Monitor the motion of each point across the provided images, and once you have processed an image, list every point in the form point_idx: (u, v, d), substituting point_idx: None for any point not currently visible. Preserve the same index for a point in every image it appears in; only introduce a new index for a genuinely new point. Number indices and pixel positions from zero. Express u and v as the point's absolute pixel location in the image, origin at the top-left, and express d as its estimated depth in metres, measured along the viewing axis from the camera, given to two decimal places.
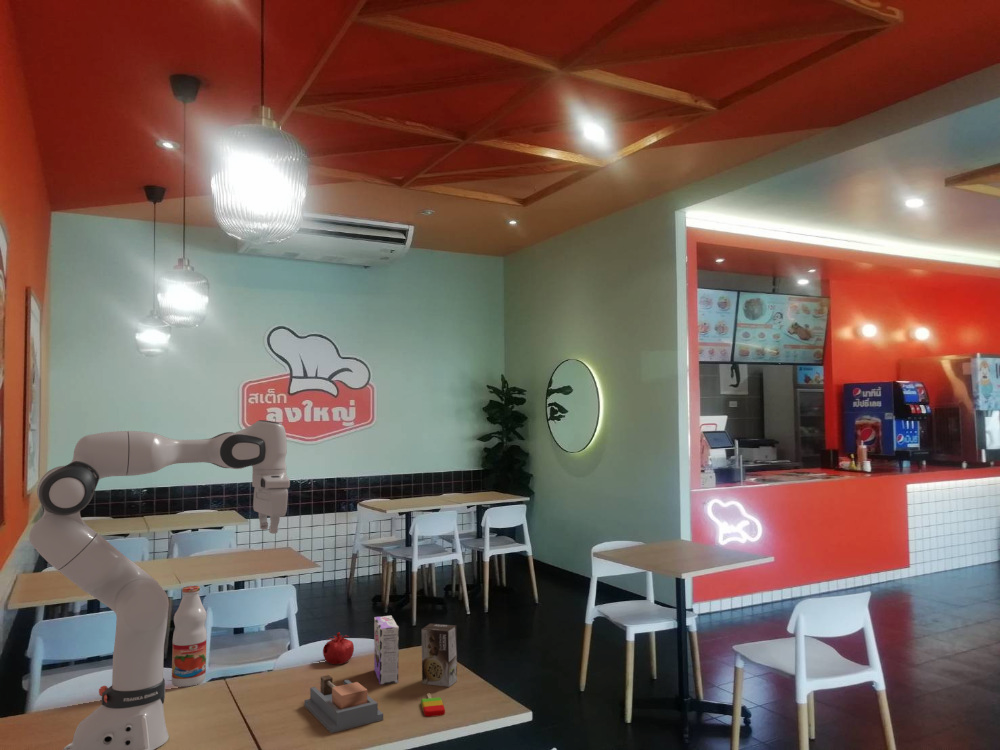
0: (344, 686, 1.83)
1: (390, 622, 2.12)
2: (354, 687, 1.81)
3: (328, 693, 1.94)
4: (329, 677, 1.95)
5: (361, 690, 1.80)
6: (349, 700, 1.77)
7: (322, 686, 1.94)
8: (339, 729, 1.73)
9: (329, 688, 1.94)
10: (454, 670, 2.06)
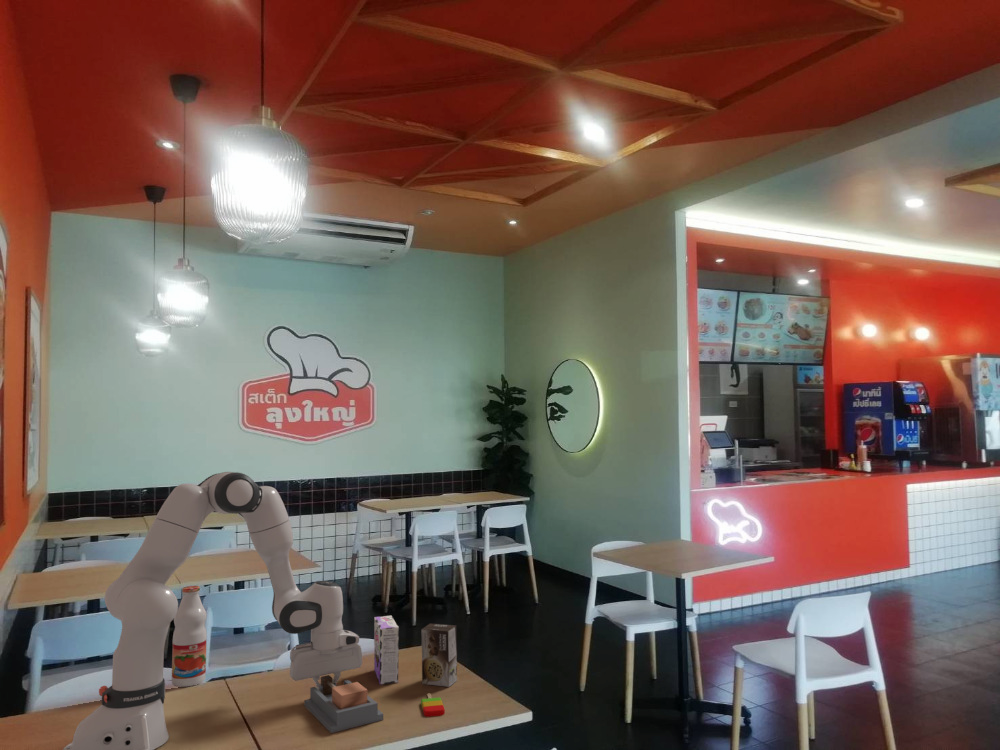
0: (344, 686, 1.83)
1: (390, 622, 2.12)
2: (354, 687, 1.81)
3: (328, 693, 1.94)
4: (329, 677, 1.95)
5: (361, 690, 1.80)
6: (349, 700, 1.77)
7: None
8: (339, 729, 1.73)
9: (329, 688, 1.94)
10: (454, 670, 2.06)
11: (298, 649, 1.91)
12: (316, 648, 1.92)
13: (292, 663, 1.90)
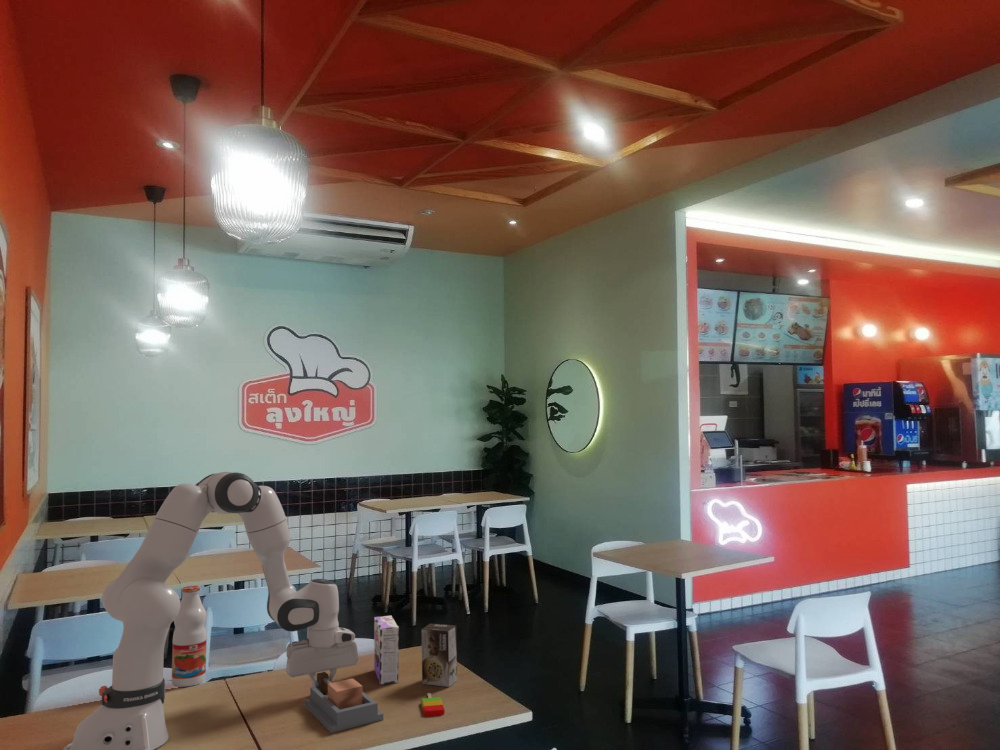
0: (339, 682, 1.85)
1: (390, 622, 2.12)
2: (350, 684, 1.84)
3: (324, 689, 1.97)
4: (325, 674, 1.98)
5: (356, 686, 1.82)
6: (345, 696, 1.80)
7: None
8: (339, 729, 1.73)
9: (325, 684, 1.97)
10: (454, 670, 2.06)
11: (294, 646, 1.94)
12: (312, 645, 1.95)
13: (288, 660, 1.93)
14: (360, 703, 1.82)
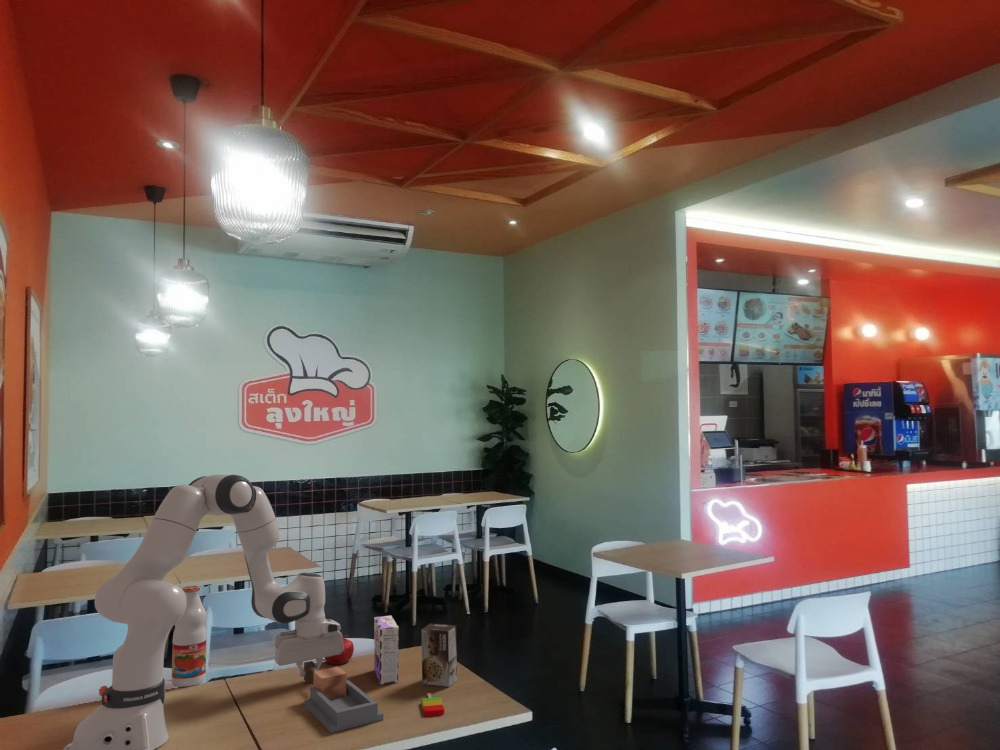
0: (325, 670, 1.95)
1: (390, 622, 2.12)
2: (334, 671, 1.94)
3: (311, 678, 2.06)
4: (312, 663, 2.08)
5: (340, 674, 1.92)
6: (329, 682, 1.89)
7: None
8: (339, 729, 1.73)
9: (312, 673, 2.06)
10: (454, 670, 2.06)
11: (282, 636, 2.04)
12: (299, 635, 2.05)
13: (277, 649, 2.03)
14: (344, 690, 1.92)
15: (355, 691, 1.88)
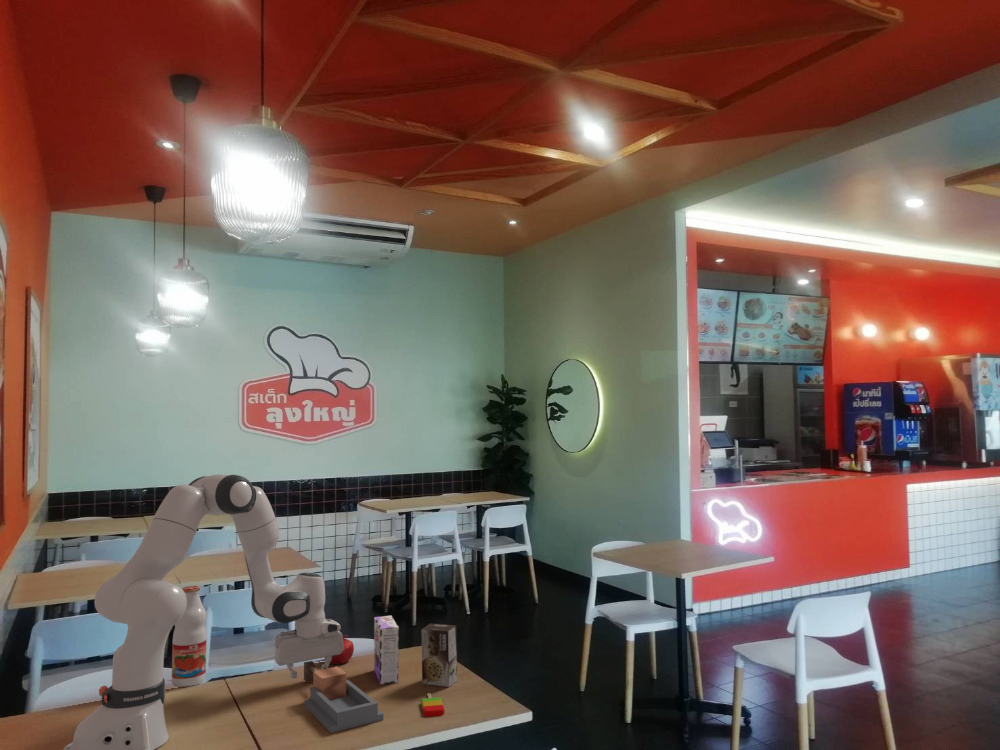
0: (325, 670, 1.95)
1: (390, 622, 2.12)
2: (334, 671, 1.94)
3: (311, 678, 2.06)
4: (312, 663, 2.08)
5: (340, 674, 1.92)
6: (329, 682, 1.90)
7: (305, 671, 2.07)
8: (339, 729, 1.73)
9: (312, 673, 2.06)
10: (454, 670, 2.06)
11: (282, 636, 2.04)
12: (299, 635, 2.05)
13: (277, 649, 2.03)
14: (344, 690, 1.92)
15: (355, 691, 1.88)
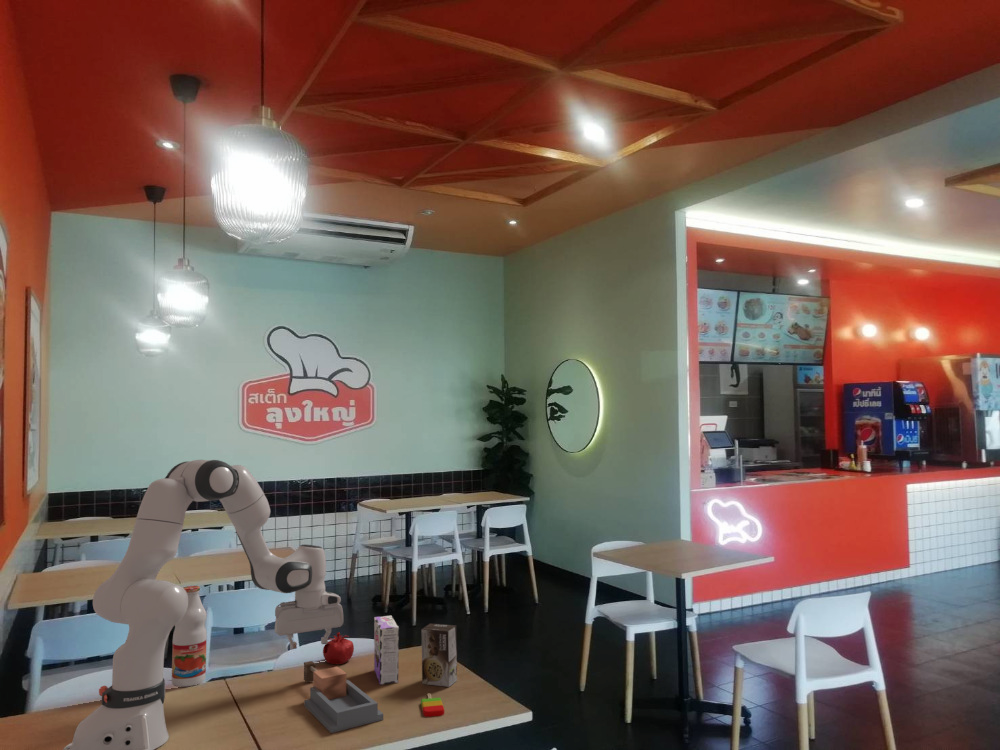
0: (325, 670, 1.95)
1: (390, 622, 2.12)
2: (334, 671, 1.94)
3: (311, 678, 2.06)
4: (312, 663, 2.08)
5: (340, 674, 1.92)
6: (329, 682, 1.90)
7: (305, 671, 2.07)
8: (339, 729, 1.73)
9: (312, 673, 2.06)
10: (454, 670, 2.06)
11: (283, 606, 2.04)
12: (299, 606, 2.05)
13: (277, 619, 2.03)
14: (344, 690, 1.92)
15: (355, 691, 1.88)
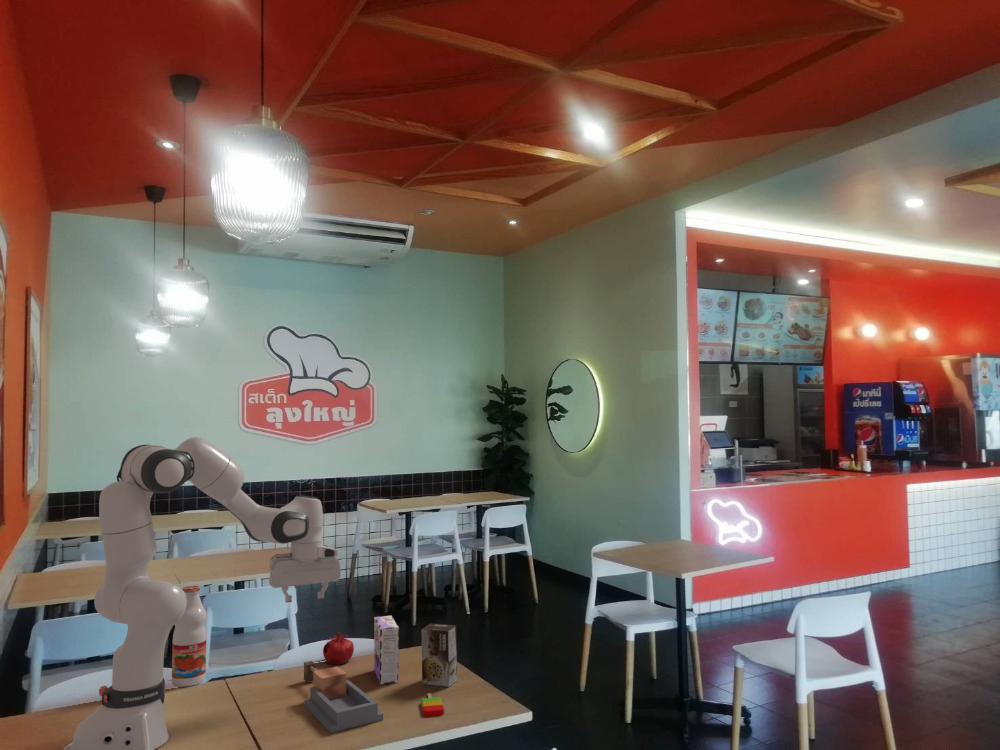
0: (325, 670, 1.95)
1: (390, 622, 2.12)
2: (334, 671, 1.94)
3: (311, 678, 2.06)
4: (312, 663, 2.08)
5: (340, 674, 1.92)
6: (329, 682, 1.90)
7: (305, 671, 2.07)
8: (339, 729, 1.73)
9: (312, 673, 2.06)
10: (454, 670, 2.06)
11: (278, 558, 1.97)
12: (295, 558, 1.98)
13: (271, 571, 1.96)
14: (344, 690, 1.92)
15: (355, 691, 1.88)
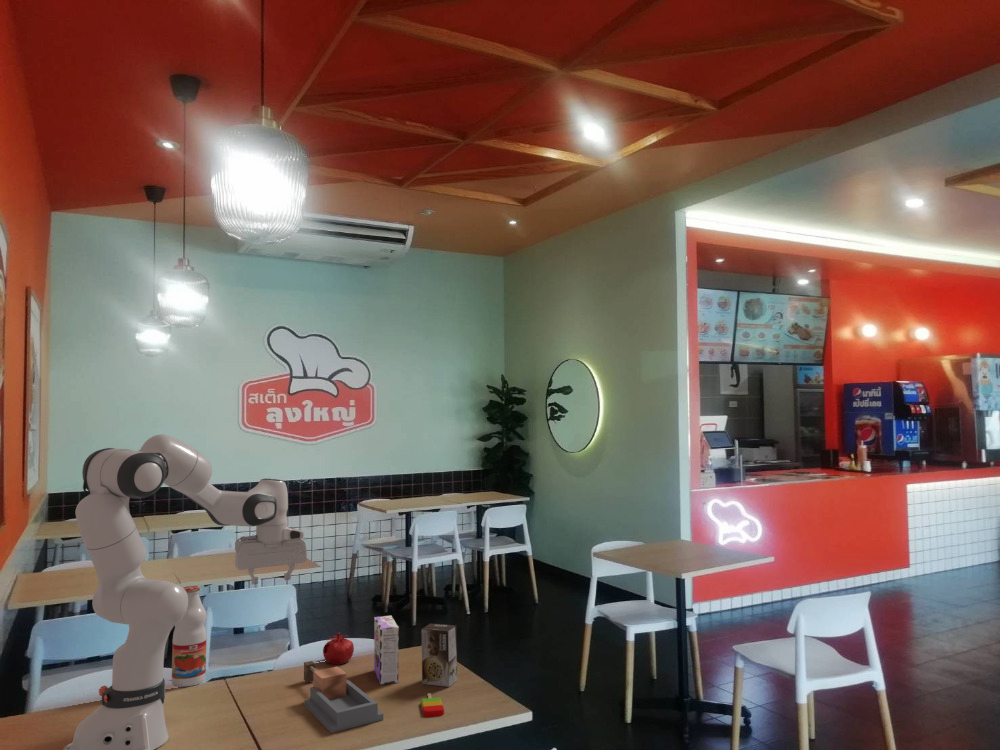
0: (325, 670, 1.95)
1: (390, 622, 2.12)
2: (334, 671, 1.94)
3: (311, 678, 2.06)
4: (312, 663, 2.08)
5: (340, 674, 1.92)
6: (329, 682, 1.90)
7: (305, 671, 2.07)
8: (339, 729, 1.73)
9: (312, 673, 2.06)
10: (454, 670, 2.06)
11: (243, 540, 1.99)
12: (260, 540, 2.00)
13: (237, 553, 1.98)
14: (344, 690, 1.92)
15: (355, 691, 1.88)
